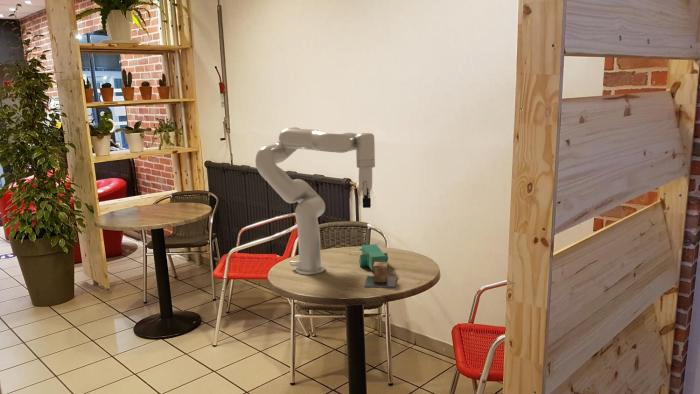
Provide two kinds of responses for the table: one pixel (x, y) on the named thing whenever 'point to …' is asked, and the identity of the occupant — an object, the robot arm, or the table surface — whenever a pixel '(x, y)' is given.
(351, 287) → the table surface
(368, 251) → the toy
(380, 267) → the tan cardboard carton
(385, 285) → the grey base plate
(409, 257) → the table surface
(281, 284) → the table surface
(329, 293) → the table surface
